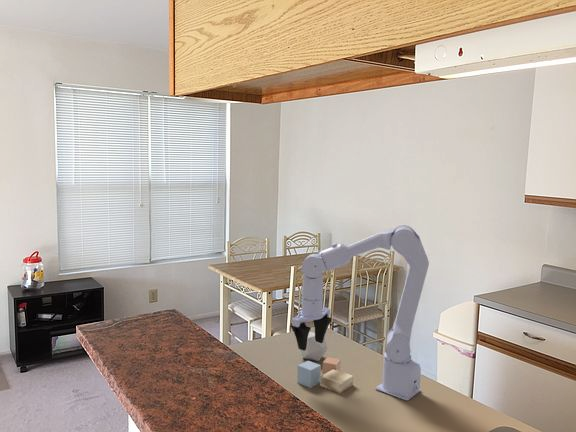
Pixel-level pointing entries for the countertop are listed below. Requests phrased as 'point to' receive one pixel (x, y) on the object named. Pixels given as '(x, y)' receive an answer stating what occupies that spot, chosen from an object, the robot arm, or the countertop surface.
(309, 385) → the blue block
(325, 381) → the beech base
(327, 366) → the terracotta block
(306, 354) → the die
